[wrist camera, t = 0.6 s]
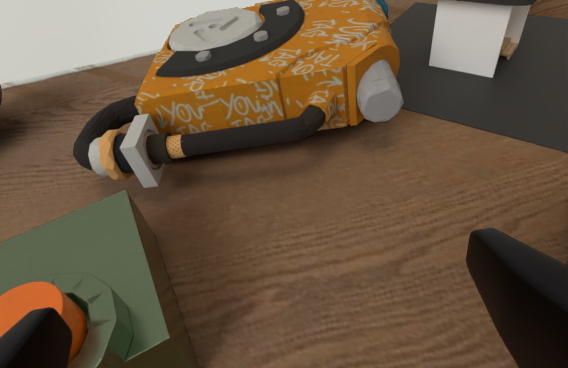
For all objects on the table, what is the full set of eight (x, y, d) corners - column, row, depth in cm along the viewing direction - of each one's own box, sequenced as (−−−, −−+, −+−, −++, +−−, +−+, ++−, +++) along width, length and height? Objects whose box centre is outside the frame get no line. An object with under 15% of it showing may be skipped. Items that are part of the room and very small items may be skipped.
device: (456, 72, 23) (23, 139, 27) (440, 168, 29) (85, 213, 32) (383, -33, 39) (118, 16, 43) (382, 42, 45) (149, 81, 48)
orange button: (92, 360, 16) (66, 340, 15) (-8, 412, 15) (-47, 397, 14) (83, 288, 19) (60, 266, 17) (-2, 329, 18) (-34, 309, 16)
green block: (210, 399, 20) (163, 349, 15) (17, 515, 18) (-111, 499, 13) (154, 234, 29) (114, 169, 24) (21, 296, 27) (-53, 238, 22)
